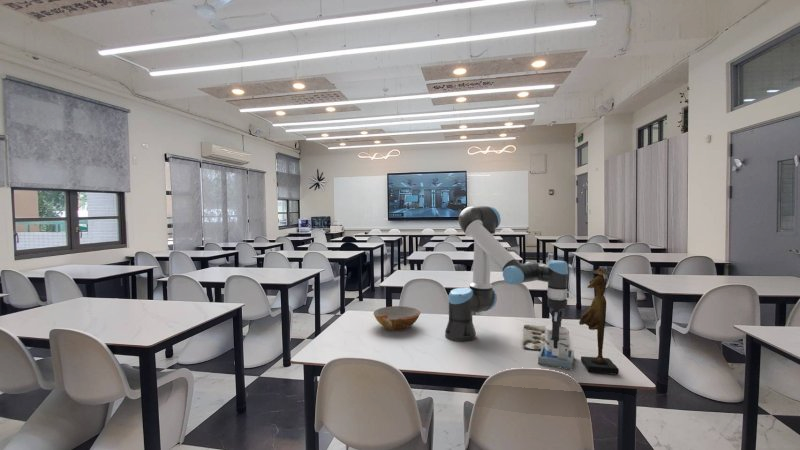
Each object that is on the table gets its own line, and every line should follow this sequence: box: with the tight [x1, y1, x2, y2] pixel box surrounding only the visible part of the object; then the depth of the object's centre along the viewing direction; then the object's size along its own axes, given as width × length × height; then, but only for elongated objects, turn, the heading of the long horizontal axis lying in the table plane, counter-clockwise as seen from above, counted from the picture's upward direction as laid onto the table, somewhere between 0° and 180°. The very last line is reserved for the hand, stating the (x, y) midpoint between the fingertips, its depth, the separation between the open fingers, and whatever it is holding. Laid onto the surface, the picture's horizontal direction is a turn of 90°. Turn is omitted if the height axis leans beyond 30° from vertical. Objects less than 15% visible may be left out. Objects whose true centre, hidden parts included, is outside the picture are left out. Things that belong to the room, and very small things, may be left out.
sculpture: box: [578, 267, 620, 375], centre depth 146 cm, size 13×11×40 cm
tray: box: [537, 345, 575, 370], centre depth 154 cm, size 13×14×3 cm
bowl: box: [373, 305, 421, 331], centre depth 198 cm, size 25×25×8 cm
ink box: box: [544, 325, 570, 359], centre depth 154 cm, size 9×5×12 cm, turn 80°
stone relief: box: [521, 324, 570, 351], centre depth 179 cm, size 32×3×20 cm
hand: (556, 352), depth 154 cm, fingers closed on ink box, 6 cm apart
